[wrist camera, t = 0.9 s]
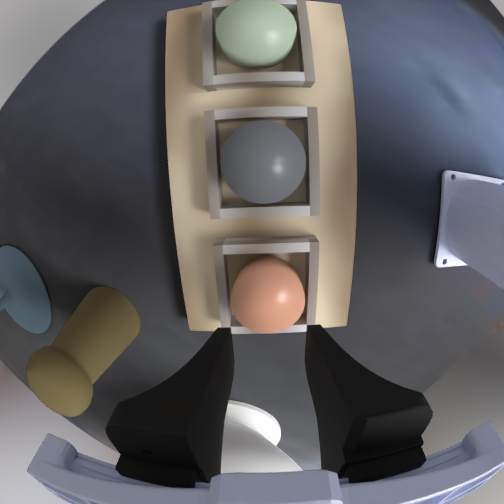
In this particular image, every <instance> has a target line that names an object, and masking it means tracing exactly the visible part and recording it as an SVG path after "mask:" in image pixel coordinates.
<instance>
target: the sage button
mask: <svg viewBox="0 0 504 504" xmlns="http://www.w3.org/2000/svg"><path fill="white" fill-rule="evenodd" d="M215 30H216V35H217V38H218V41H219V43H220V46H221V49H222V51H223V53H224V54H225V56H226V57H227V58H228V59H229V60H230V61H231V62H233V63H234V64H236V65H238V66H241V67H244V68H248V69H265V68H269V67H273V66H275V65H277V64H279V63H281V62H282V61H283V60H284V59H285V58H286V57H287V56H288V55H289V53H290V52H291V49H292V46H293V43H294V39H295V36H296V31H297V25H296V21H295V19H294V17H293V15H292V14H291V12H290V11H289V10H288V9H287V8H286V7H284V6H283V5H281V4H279V3H277V2H275V1H272V0H240V1H237V2H235V3H233V4H231V5H229V6H228V7H227V8H226V9H224V10H223V11H222V13H221V14H220V15H219V17H218V19H217V22H216V27H215Z"/></svg>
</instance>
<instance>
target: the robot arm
mask: <svg viewBox="0 0 504 504" xmlns="http://www.w3.org/2000/svg"><path fill="white" fill-rule="evenodd" d="M452 175H453V179H451V176H452ZM501 184H502V185H501ZM444 259H445V260H444ZM443 260H444V262H443ZM442 262H443V263H442ZM434 264H435V265H436V266H437V267H450V266H462V265H468V266H470V267H471V268H473V269H474V270H476V271H477V272H479V273H480V274H482V275H483V276H485V277H486V278H488V279H489V280H491V281H492V282H493V283H495V284H496V285H498V286H499V287H500V288H502V289H503V290H504V180H502V179H497V178H492V177H487V176H481V175H476V174H470V173H463V172H457V171H450V170H445V171H444V172H443V174H442V193H441V208H440V219H439V229H438V237H437V244H436V251H435V258H434ZM305 366H306V374H307V379H308V383H309V387H310V391H311V395H312V399H313V403H314V407H315V411H316V416H317V423H318V431H319V441H320V452H321V467H322V470H304V471H291V472H267V473H246V472H235V473H223V474H221V459H222V444H223V432H224V421H225V415H226V410H227V406H228V401H229V396H230V391H231V387H232V382H233V374H234V352H233V342H232V333H231V327H218V328H217V329H216V330H215V331H214V333H213V334H212V335H211V337H210V338H209V339H208V341H207V342H206V343H205V344H204V345H203V347H202V348H201V349H200V350H199V351H198V352H197V354H196V355H195V356H194V357H193V358H192V359H191V360H190V361H189V362H188V363H187V364H186V365H185V366H183V367H182V368H181V369H180V370H179V371H178V372H176V373H175V374H174V375H173V376H171V377H170V378H168V379H167V380H165V381H164V382H162V383H161V384H159V385H157V386H156V387H154V388H152V389H150V390H148V391H146V392H144V393H142V394H140V395H138V396H135V397H132V398H130V399H127V400H125V401H122V402H119V403H118V405H117V406H116V408H115V410H114V411H113V413H112V415H111V417H110V420H109V422H108V424H107V426H106V428H105V429H106V434H107V436H108V437H109V439H110V441H111V442H112V443H113V445H114V446H115V447H116V449H117V450H118V451H119V453H120V454H121V455H120V458H119V460H118V462H117V465H113V464H109V463H107V462H103V461H100V460H97V459H94V458H92V457H89V456H86V455H83V454H81V453H78V452H77V450H76V449H75V448H74V446H73V445H71V444H70V443H69V442H67V441H66V440H63V439H61V438H59V437H56V436H54V435H52V434H47V436H46V438H45V439H44V441H43V442H42V444H41V446H40V447H39V449H38V451H37V453H36V454H35V456H34V458H33V460H32V461H31V463H30V465H29V467H28V469H27V472H28V473H29V474H31V475H32V476H33V477H34V478H35V479H36V480H37V481H39V482H40V483H41V484H42V485H43V486H45V487H46V488H47V489H48V490H50V491H51V492H52V493H53V494H55V495H56V496H58V497H59V498H61V499H63V500H65V501H67V502H69V503H71V504H450V503H452V502H454V501H455V500H457V499H459V498H461V497H463V496H465V495H466V494H468V493H470V492H472V491H473V490H475V489H477V488H478V487H480V486H482V485H483V484H484V483H485V482H486V481H488V480H489V479H490V478H491V477H492V476H493V475H494V474H495V473H496V472H497V471H499V470H500V469H501V468H502V467H503V466H504V443H503V441H502V439H501V438H500V436H499V434H498V433H497V431H496V429H495V428H494V426H493V424H492V423H491V421H488V422H486V423H484V424H482V425H481V426H478V427H476V428H475V429H473V430H472V431H470V432H469V433H468V434H467V435H466V436H465V438H464V439H463V441H462V442H460V443H458V444H456V445H453V446H451V447H449V448H447V449H444V450H442V451H439V452H437V453H434V454H431V455H429V456H426V457H425V454H424V452H423V450H422V448H421V446H422V445H423V440H422V437H421V435H422V433H423V432H424V430H425V429H426V427H427V425H428V424H429V422H430V420H431V418H432V413H433V411H432V409H431V408H430V406H429V404H428V402H427V400H426V398H425V397H424V395H423V394H422V393H420V392H417V391H414V390H411V389H407V388H404V387H402V386H399V385H397V384H394V383H392V382H390V381H388V380H386V379H384V378H382V377H380V376H378V375H376V374H375V373H373V372H371V371H370V370H368V369H367V368H365V367H364V366H363V365H361V364H360V363H358V362H357V361H356V360H354V359H353V358H352V357H351V356H350V355H349V354H348V353H347V352H345V351H344V350H343V349H342V348H341V347H340V346H339V345H338V344H337V343H336V342H335V340H334V339H333V338H332V337H331V336H330V335H329V334H328V333H327V332H326V330H325V329H324V328H323V327H322V326H321V325H320V324H317V325H307V333H306V347H305Z"/></svg>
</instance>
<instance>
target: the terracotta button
mask: <svg viewBox="0 0 504 504" xmlns="http://www.w3.org/2000/svg"><path fill="white" fill-rule="evenodd" d="M304 306H305V294H304V290H303V287H302V284H301V280H300V277H299V275H298V273H297V271H296V270H295V268H294V267H293V266H292V265H291V264H290V263H288V262H287V261H285V260H283V259H281V258H277V257H272V256H264V257H258V258H255V259H253V260H251V261H249V262H247V263H246V264H245V265H243V266H242V267H241V269H240V270H239V271H238V273H237V275H236V277H235V281H234V285H233V290H232V294H231V308H232V311H233V313H234V315H235V317H236V318H237V320H238V321H239V322H240V323H241V324H242V325H243V326H245V327H246V328H248V329H250V330H253V331H256V332H260V333H275V332H279V331H282V330H285V329H287V328H288V327H290V326H291V325H293V324H294V323H295V322H296V321H297V320H298V319H299V318H300V316H301V314H302V312H303V310H304Z"/></svg>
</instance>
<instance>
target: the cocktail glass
mask: <svg viewBox="0 0 504 504" xmlns="http://www.w3.org/2000/svg"><path fill="white" fill-rule="evenodd" d="M3 309H6V311H7V312H8V314H9V315H10V316H11V317H12V319H13V320H14V321H15V322H16V323H17V324H18V325H19V326H21V327H22V328H23V329H25V330H27V331H28V332H31V333H35V334H41V333H43V332H45V331H46V330H47V329H48V328H49V326H50V323H51V318H52V310H51V303H50V299H49V295H48V292H47V289H46V286H45V284H44V282H43V280H42V278H41V276H40V274H39V272H38V270H37V269H36V267H35V266H34V264H33V263H32V262H31V260H30V259H29V258H28V257H27V256H26V255H25V254H24V253H23V252H22V251H21V250H19V249H18V248H16V247H14V246H11V245H5V246H2V247H1V248H0V311H1V310H3Z"/></svg>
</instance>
